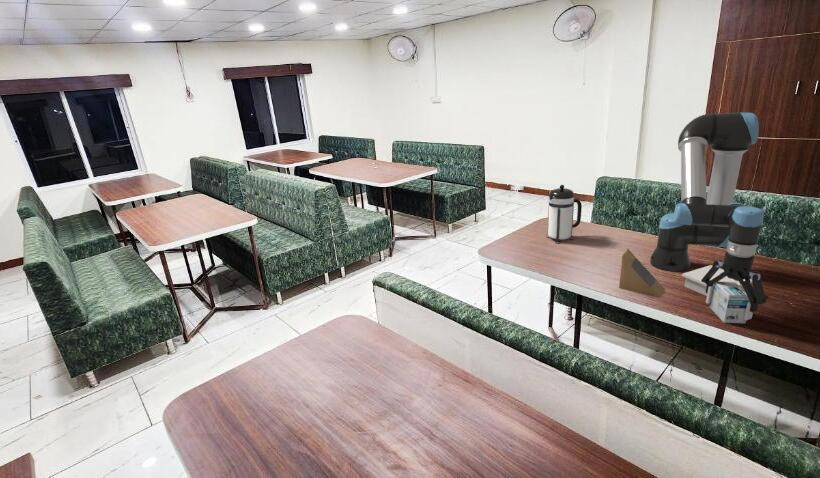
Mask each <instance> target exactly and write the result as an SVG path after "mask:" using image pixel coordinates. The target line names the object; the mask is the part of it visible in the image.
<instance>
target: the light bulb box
mask: <svg viewBox="0 0 820 478" xmlns="http://www.w3.org/2000/svg"><path fill="white" fill-rule="evenodd" d="M748 302H750V300H749V298H748V296H747V294H746V292H745V290H743V289H742V288H741V287H740V286H739V285H738V284H737V283H735V282H715V283H714V288H713V293H712V298H711V303H709V304H710V305H709V308H710V310H712V311H713V312H714V314H715V315H716V316H717V317H718V318H719V319H720V320H721V321H722V323H724V324H725V323H726V324H746V322H747V320H744V316H745V312H746V307H747V303H748Z"/></svg>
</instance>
